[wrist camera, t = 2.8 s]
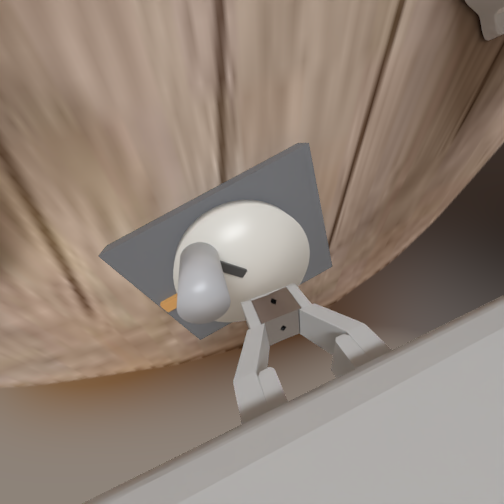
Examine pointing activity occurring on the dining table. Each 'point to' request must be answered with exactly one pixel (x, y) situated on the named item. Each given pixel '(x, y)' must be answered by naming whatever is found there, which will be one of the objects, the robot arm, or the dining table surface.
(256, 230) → the dial
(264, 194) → the dial board
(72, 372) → the dining table surface
